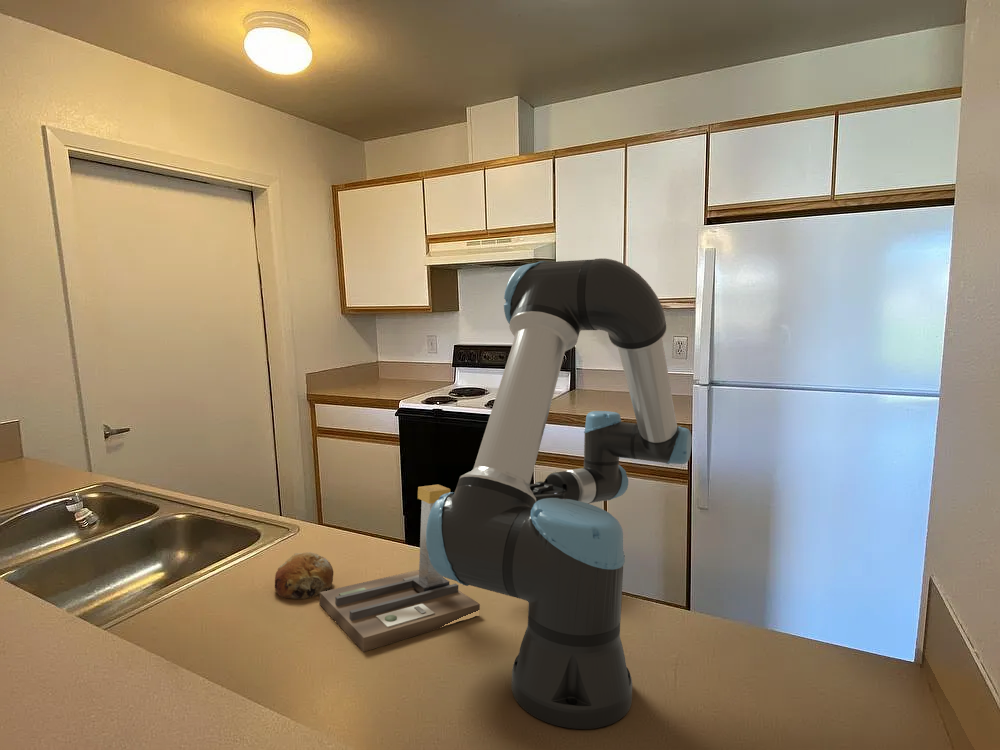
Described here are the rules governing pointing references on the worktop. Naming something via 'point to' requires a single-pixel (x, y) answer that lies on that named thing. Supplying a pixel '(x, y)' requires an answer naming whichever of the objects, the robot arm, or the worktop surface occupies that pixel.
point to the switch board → (393, 609)
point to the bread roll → (303, 576)
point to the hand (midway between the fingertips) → (475, 505)
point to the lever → (427, 573)
